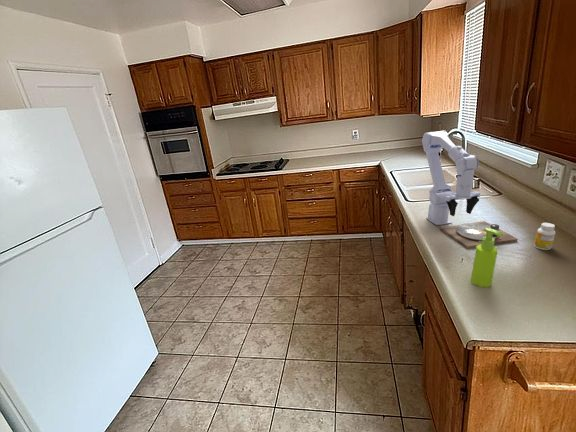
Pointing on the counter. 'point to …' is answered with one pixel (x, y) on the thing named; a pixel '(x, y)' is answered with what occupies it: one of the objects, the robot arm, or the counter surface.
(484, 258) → the soap dispenser
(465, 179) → the robot arm
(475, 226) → the dial
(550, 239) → the supplement bottle
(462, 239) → the dial base
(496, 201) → the counter surface
